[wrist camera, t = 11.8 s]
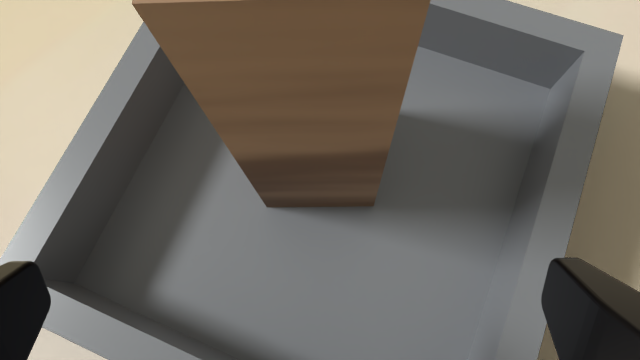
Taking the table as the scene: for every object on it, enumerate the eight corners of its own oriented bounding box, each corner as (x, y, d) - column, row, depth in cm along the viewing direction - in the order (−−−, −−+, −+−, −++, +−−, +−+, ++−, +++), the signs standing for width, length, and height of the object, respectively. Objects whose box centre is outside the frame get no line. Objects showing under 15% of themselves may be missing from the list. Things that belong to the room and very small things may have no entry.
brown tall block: (373, 206, 19) (432, -5, 7) (266, 207, 19) (131, 3, 7) (370, 108, 20) (414, -220, 8) (270, 110, 21) (162, -207, 8)
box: (454, 494, 17) (487, 545, 13) (48, 300, 20) (-23, 295, 16) (573, 86, 21) (623, 35, 18) (231, -24, 24) (210, -89, 20)
